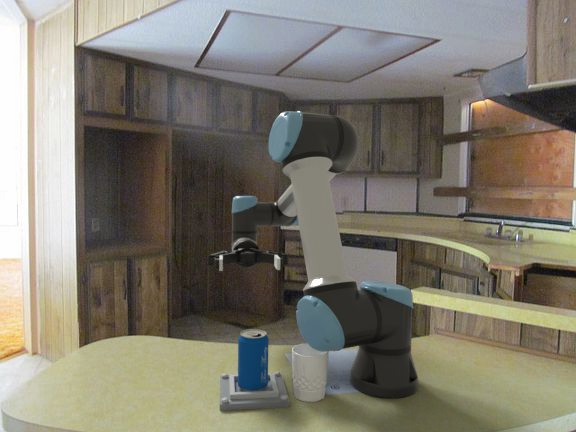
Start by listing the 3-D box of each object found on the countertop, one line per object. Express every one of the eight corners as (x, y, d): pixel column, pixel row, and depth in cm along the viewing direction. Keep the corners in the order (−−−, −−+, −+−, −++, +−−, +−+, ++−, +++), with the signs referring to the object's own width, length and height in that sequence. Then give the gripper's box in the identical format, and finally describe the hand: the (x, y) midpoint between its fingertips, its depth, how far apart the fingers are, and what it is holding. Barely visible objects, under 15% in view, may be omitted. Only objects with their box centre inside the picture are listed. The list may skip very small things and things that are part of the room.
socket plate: (281, 378, 110) (281, 369, 109) (289, 407, 96) (289, 396, 96) (220, 380, 108) (220, 371, 107) (219, 410, 94) (219, 399, 94)
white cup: (302, 406, 96) (303, 358, 95) (284, 391, 103) (285, 346, 102) (334, 398, 100) (335, 352, 99) (315, 384, 107) (316, 341, 106)
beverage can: (254, 397, 97) (254, 340, 96) (231, 388, 101) (232, 333, 100) (273, 386, 102) (274, 332, 101) (251, 378, 106) (252, 326, 105)
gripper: (289, 265, 134) (302, 279, 113) (200, 266, 130) (196, 281, 109) (290, 238, 133) (302, 248, 112) (200, 239, 130) (196, 249, 109)
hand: (250, 264), depth 111 cm, fingers open, 13 cm apart
